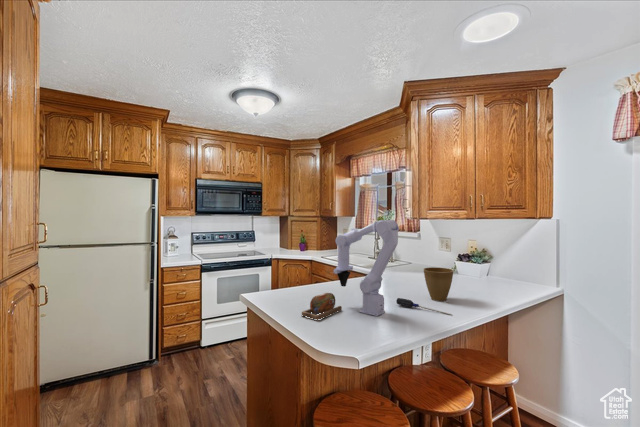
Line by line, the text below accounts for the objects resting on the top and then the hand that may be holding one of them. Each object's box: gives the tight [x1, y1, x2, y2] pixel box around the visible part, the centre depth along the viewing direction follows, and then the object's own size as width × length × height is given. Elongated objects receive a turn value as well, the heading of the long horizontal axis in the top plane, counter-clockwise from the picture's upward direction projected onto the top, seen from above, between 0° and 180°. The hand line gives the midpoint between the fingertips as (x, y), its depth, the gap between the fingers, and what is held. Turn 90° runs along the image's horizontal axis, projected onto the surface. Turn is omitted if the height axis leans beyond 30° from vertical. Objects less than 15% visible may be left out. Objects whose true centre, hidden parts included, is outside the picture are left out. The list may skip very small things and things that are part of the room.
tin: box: [309, 292, 336, 315], centre depth 137 cm, size 15×3×8 cm, turn 136°
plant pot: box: [423, 266, 454, 302], centre depth 159 cm, size 15×15×16 cm
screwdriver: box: [396, 297, 453, 316], centre depth 142 cm, size 26×4×4 cm, turn 55°
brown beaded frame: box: [301, 305, 343, 320], centre depth 136 cm, size 9×18×2 cm, turn 141°
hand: (343, 286), depth 149 cm, fingers closed
